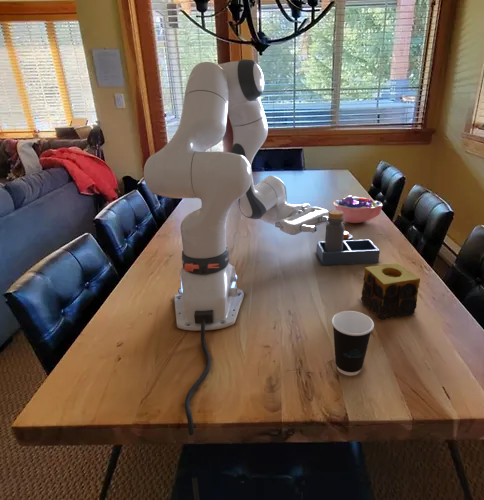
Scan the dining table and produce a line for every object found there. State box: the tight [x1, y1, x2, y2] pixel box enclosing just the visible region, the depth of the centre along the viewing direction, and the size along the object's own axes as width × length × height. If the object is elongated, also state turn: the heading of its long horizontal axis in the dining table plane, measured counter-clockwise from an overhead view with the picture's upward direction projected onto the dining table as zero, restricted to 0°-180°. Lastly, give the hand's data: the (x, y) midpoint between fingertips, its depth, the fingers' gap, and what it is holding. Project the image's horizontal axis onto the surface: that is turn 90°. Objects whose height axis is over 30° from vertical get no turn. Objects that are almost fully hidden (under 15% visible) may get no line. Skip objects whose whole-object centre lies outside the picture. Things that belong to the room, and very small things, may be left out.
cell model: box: [332, 195, 383, 224], centre depth 155 cm, size 17×20×11 cm
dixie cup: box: [331, 310, 375, 377], centre depth 74 cm, size 8×8×11 cm
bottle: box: [324, 209, 345, 252], centre depth 121 cm, size 6×6×15 cm
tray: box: [316, 238, 381, 266], centre depth 123 cm, size 10×18×4 cm, turn 95°
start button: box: [344, 230, 350, 238], centre depth 134 cm, size 4×4×2 cm
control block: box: [343, 233, 354, 241], centre depth 135 cm, size 10×8×3 cm
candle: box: [360, 262, 421, 321], centre depth 94 cm, size 10×10×10 cm
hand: (323, 226), depth 123 cm, fingers open, 8 cm apart
